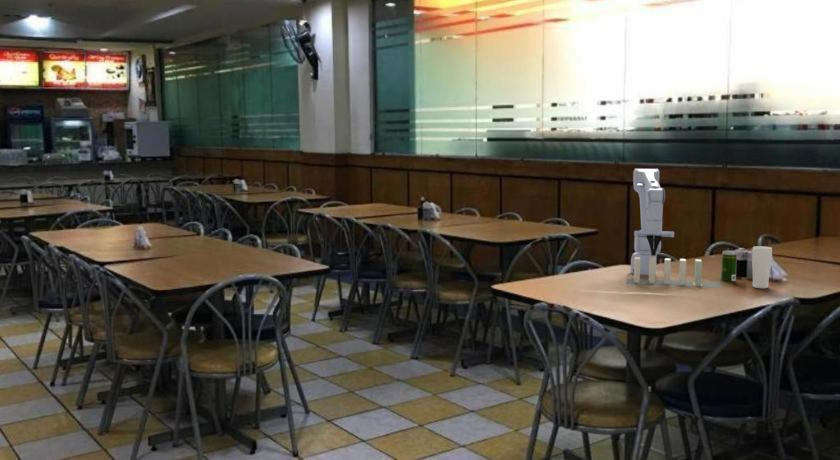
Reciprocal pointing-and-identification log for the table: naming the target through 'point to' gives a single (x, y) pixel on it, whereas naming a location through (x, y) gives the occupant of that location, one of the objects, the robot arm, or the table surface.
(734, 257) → the beer can
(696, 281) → the domino
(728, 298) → the table surface
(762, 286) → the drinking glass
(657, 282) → the domino mat
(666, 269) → the domino
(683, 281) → the domino
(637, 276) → the domino
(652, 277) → the domino
